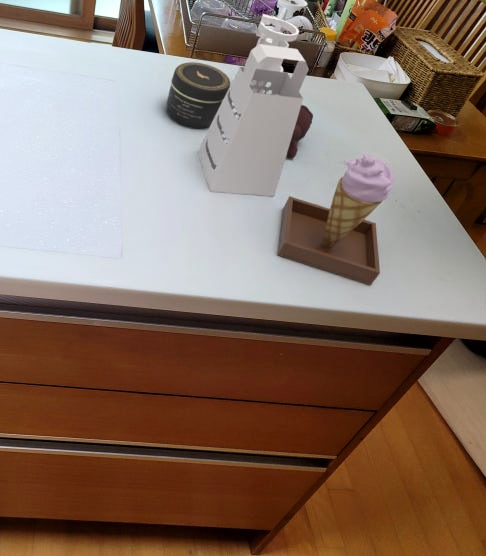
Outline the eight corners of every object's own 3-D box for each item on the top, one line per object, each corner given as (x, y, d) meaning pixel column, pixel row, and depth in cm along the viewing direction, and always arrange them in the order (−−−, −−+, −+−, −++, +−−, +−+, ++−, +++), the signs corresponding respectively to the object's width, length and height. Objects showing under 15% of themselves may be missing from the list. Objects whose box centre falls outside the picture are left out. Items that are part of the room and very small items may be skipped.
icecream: (270, 80, 99) (272, 129, 90) (313, 80, 98) (319, 129, 88) (266, 114, 104) (267, 163, 95) (306, 114, 103) (312, 164, 94)
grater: (197, 151, 91) (236, 30, 76) (256, 157, 93) (305, 40, 78) (210, 191, 84) (256, 66, 69) (274, 196, 86) (331, 76, 71)
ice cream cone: (296, 230, 80) (344, 142, 69) (328, 224, 82) (380, 138, 71) (324, 262, 76) (379, 174, 65) (357, 255, 78) (416, 169, 68)
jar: (210, 137, 95) (224, 97, 89) (156, 118, 96) (166, 77, 90) (223, 112, 101) (237, 73, 96) (173, 94, 103) (184, 55, 97)
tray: (367, 235, 83) (375, 223, 81) (370, 285, 75) (380, 273, 73) (282, 208, 84) (289, 196, 82) (277, 255, 76) (284, 242, 74)
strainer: (237, 84, 110) (264, 7, 99) (271, 94, 110) (302, 18, 99) (233, 100, 105) (261, 21, 95) (269, 110, 105) (301, 32, 94)
